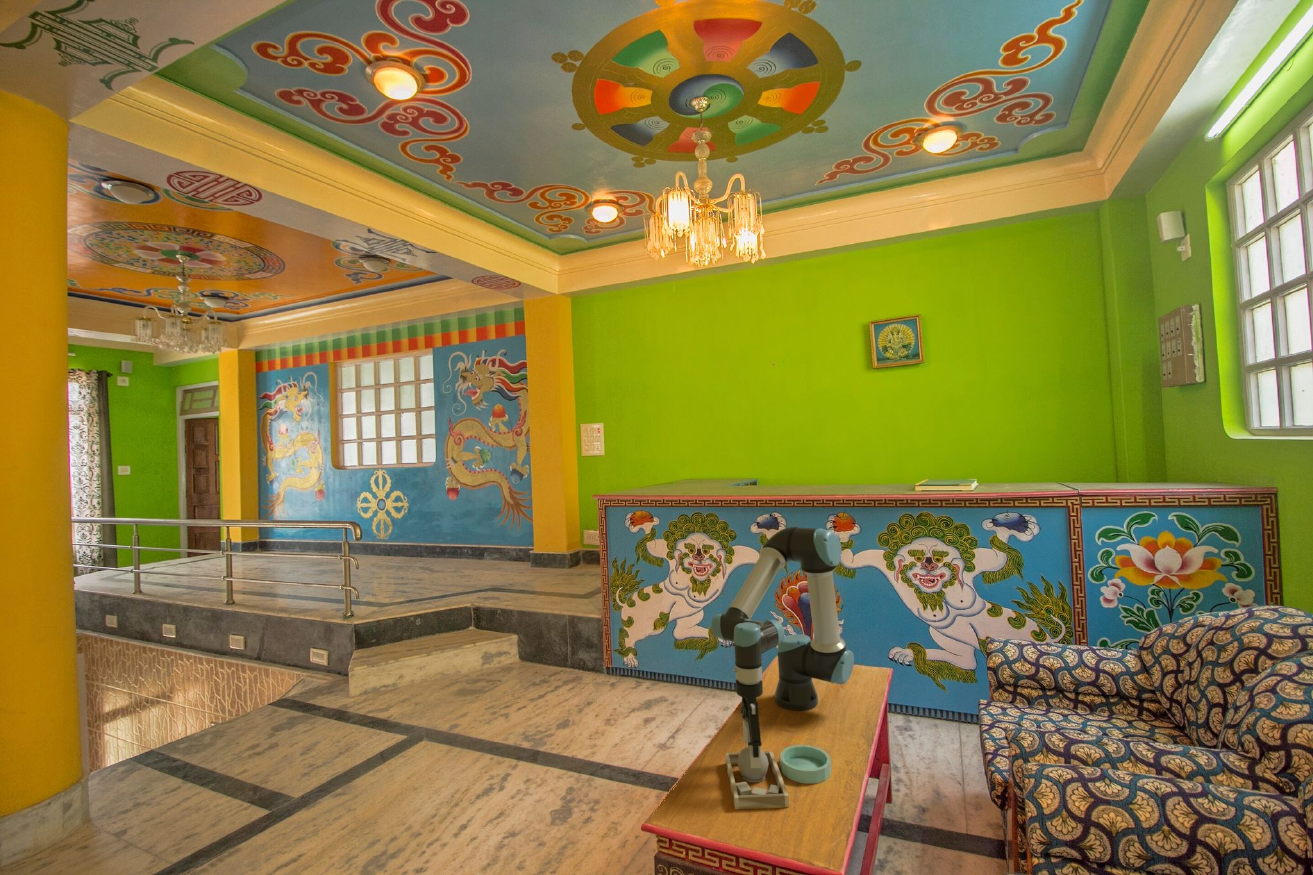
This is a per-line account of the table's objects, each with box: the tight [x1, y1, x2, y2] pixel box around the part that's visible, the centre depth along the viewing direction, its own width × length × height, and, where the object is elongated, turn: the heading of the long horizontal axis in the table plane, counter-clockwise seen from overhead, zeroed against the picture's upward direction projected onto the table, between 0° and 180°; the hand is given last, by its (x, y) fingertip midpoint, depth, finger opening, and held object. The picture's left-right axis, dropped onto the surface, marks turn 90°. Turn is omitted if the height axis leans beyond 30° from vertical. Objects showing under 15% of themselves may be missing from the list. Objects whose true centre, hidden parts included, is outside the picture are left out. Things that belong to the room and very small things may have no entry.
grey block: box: [735, 781, 753, 795], centre depth 163 cm, size 4×3×2 cm
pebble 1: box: [752, 786, 768, 795], centre depth 160 cm, size 4×3×2 cm
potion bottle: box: [737, 718, 770, 784], centre depth 171 cm, size 9×9×18 cm
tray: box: [724, 750, 790, 810], centre depth 167 cm, size 22×14×3 cm, turn 0°
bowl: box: [779, 744, 832, 785], centre depth 173 cm, size 14×14×4 cm
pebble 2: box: [767, 784, 781, 794], centre depth 161 cm, size 4×2×2 cm
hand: (751, 754), depth 171 cm, fingers open, 13 cm apart
